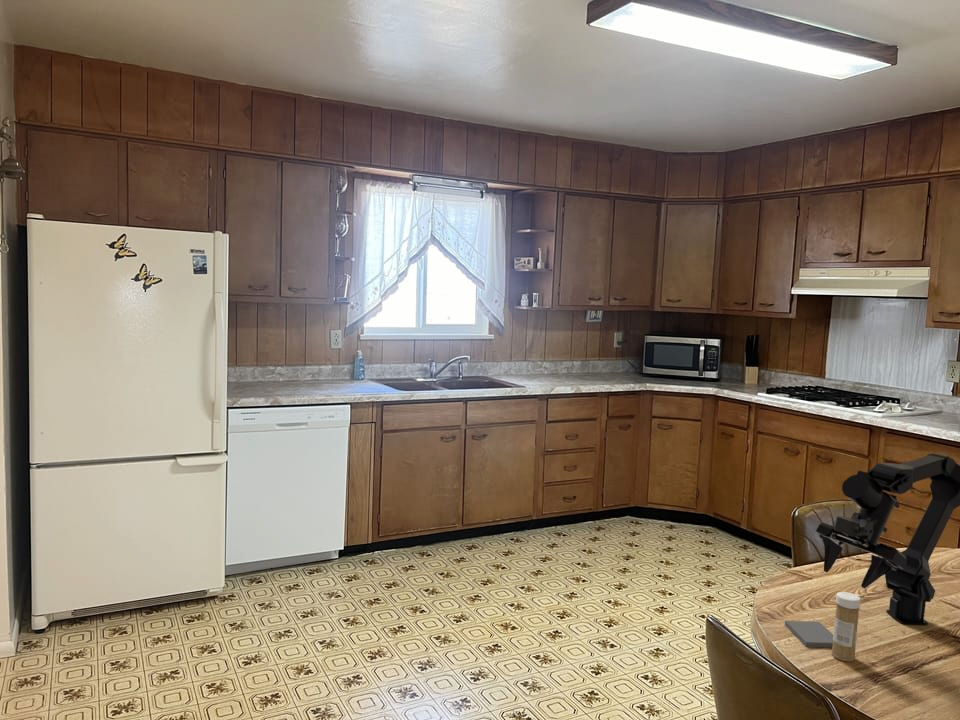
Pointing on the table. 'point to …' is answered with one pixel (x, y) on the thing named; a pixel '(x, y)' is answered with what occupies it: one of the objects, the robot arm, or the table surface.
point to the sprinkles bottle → (845, 626)
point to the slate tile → (811, 633)
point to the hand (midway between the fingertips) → (843, 579)
